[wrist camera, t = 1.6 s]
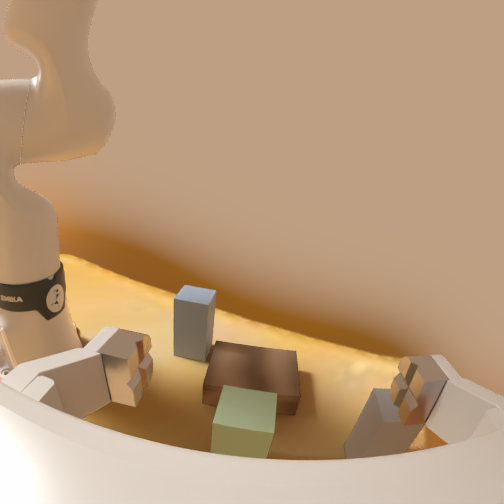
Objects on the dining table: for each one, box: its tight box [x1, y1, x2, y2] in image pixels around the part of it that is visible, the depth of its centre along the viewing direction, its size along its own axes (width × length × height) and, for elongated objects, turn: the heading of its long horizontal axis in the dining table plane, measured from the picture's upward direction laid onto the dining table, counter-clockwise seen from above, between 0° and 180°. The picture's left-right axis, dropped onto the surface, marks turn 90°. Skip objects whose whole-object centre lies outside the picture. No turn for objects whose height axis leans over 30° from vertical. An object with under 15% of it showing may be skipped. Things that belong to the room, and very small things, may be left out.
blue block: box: [174, 285, 216, 362], centre depth 45 cm, size 5×5×10 cm
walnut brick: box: [202, 341, 301, 415], centre depth 39 cm, size 12×10×4 cm
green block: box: [211, 385, 277, 459], centre depth 25 cm, size 5×5×10 cm
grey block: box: [344, 388, 425, 459], centre depth 26 cm, size 5×5×10 cm
